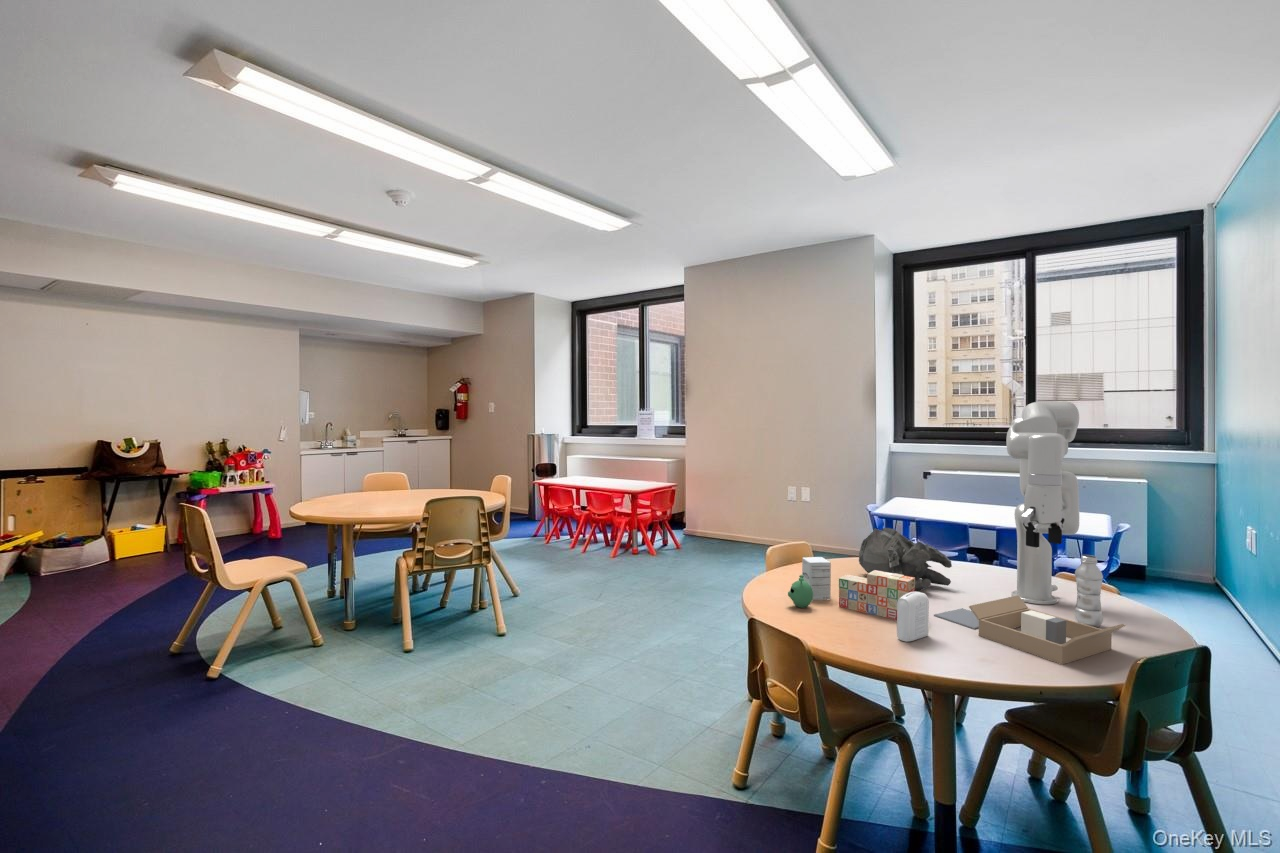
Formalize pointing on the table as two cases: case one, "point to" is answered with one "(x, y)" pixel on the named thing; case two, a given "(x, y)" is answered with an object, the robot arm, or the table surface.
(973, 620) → the mat
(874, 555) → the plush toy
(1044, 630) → the box
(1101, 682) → the table surface
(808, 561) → the supplement box
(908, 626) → the photo printer
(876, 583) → the stack of blocks
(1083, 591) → the plastic bottle
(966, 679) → the table surface
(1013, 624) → the carton
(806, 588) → the alien toy
